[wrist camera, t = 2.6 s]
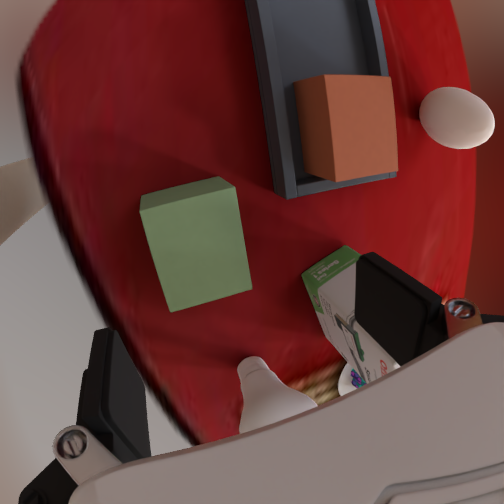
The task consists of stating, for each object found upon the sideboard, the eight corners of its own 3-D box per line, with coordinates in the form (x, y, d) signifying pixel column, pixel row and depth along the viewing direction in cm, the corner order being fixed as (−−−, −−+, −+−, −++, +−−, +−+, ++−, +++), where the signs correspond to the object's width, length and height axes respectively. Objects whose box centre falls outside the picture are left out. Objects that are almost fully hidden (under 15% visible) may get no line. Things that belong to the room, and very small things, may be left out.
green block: (165, 282, 21) (170, 312, 18) (140, 195, 19) (139, 210, 15) (235, 262, 23) (252, 289, 19) (218, 175, 20) (235, 186, 16)
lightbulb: (291, 339, 27) (355, 428, 18) (263, 387, 29) (310, 476, 19) (229, 328, 25) (282, 436, 15) (205, 381, 26) (241, 485, 16)
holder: (274, 193, 22) (286, 199, 20) (237, -37, 14) (246, -50, 12) (379, 172, 24) (396, 176, 22) (351, -25, 16) (366, -33, 14)
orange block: (304, 172, 21) (335, 182, 17) (292, 81, 18) (323, 74, 15) (363, 162, 22) (398, 171, 19) (355, 80, 19) (391, 76, 16)
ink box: (298, 272, 25) (392, 366, 14) (347, 241, 25) (454, 313, 15) (325, 339, 29) (397, 425, 18) (366, 312, 29) (446, 385, 19)
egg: (445, 132, 25) (508, 145, 18) (413, 150, 24) (482, 166, 17) (432, 81, 22) (499, 83, 15) (398, 94, 22) (471, 96, 15)
